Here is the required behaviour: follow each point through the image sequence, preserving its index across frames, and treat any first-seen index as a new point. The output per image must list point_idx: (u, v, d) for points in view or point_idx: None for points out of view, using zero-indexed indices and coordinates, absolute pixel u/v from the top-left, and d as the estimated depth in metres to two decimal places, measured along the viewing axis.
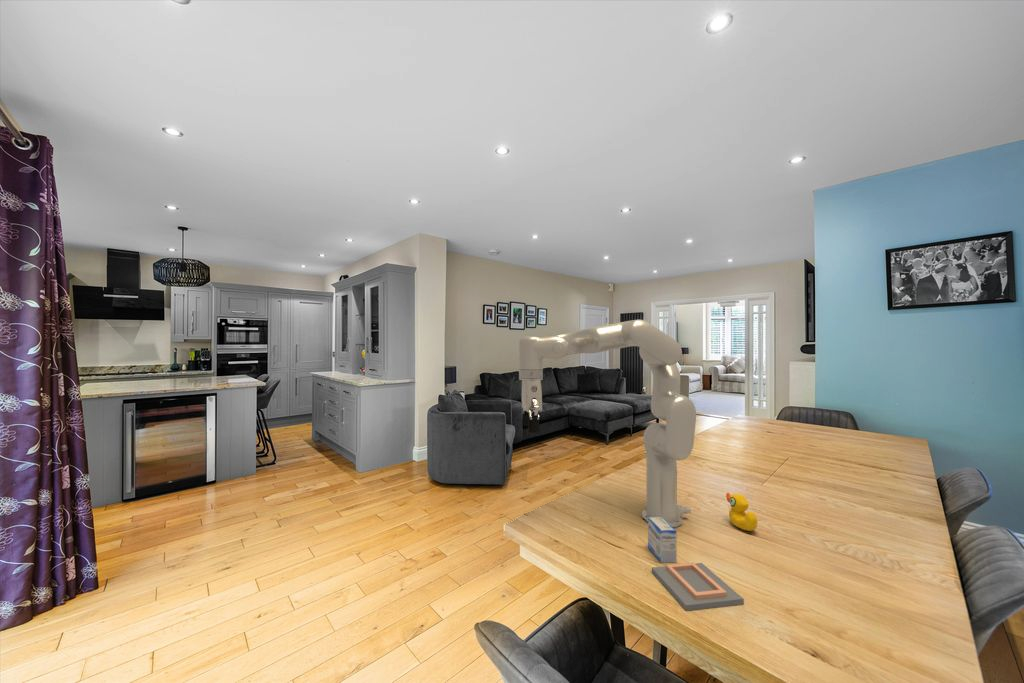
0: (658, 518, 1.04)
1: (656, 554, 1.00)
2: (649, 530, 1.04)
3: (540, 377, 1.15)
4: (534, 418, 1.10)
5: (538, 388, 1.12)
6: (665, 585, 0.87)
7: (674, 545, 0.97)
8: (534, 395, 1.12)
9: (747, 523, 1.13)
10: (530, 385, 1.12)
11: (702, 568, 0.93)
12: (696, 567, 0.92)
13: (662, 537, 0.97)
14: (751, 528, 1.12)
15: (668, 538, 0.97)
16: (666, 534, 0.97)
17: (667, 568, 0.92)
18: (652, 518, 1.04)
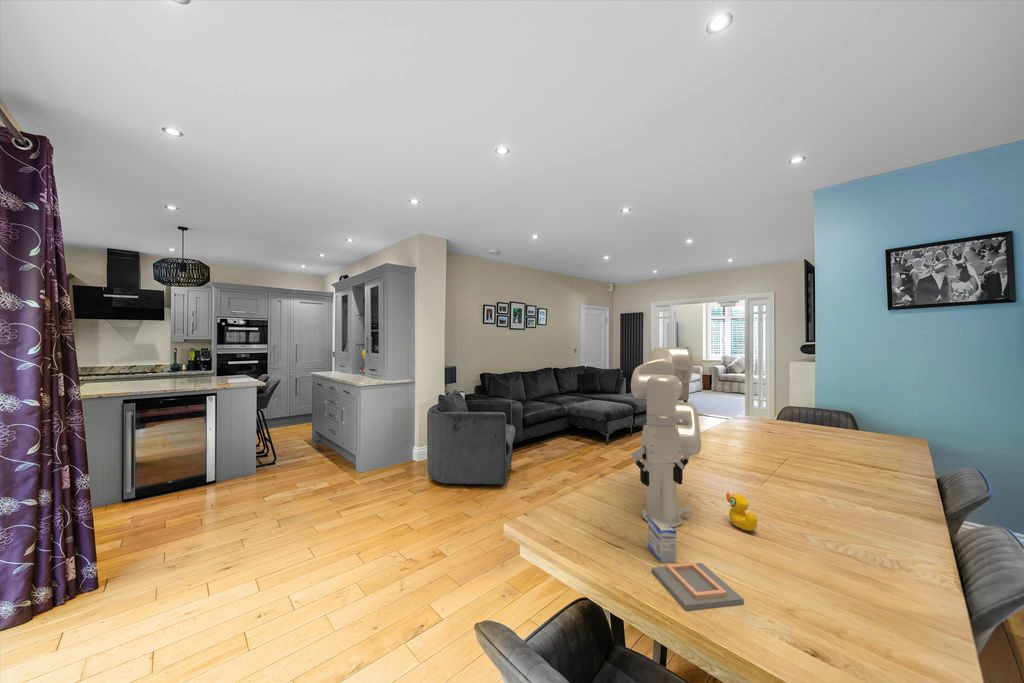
0: (658, 518, 1.04)
1: (656, 554, 1.00)
2: (649, 530, 1.04)
3: None
4: None
5: None
6: (665, 585, 0.87)
7: (674, 545, 0.97)
8: None
9: (747, 523, 1.13)
10: None
11: (702, 568, 0.93)
12: (696, 567, 0.92)
13: (662, 537, 0.97)
14: (751, 528, 1.12)
15: (668, 538, 0.97)
16: (666, 534, 0.97)
17: (667, 568, 0.92)
18: (652, 518, 1.04)
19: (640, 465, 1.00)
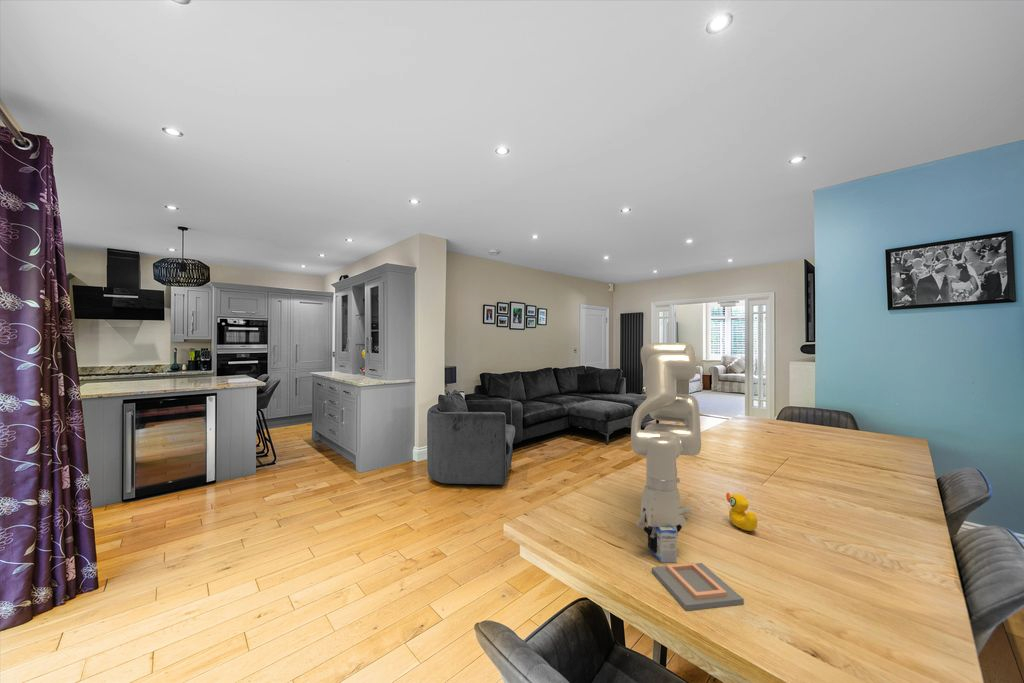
0: None
1: (656, 554, 1.00)
2: None
3: None
4: None
5: None
6: (665, 585, 0.87)
7: (674, 545, 0.97)
8: None
9: (747, 523, 1.13)
10: None
11: (702, 568, 0.93)
12: (696, 567, 0.92)
13: (662, 537, 0.97)
14: (751, 528, 1.12)
15: (667, 538, 0.97)
16: (666, 534, 0.97)
17: (667, 568, 0.92)
18: None
19: (648, 532, 1.00)
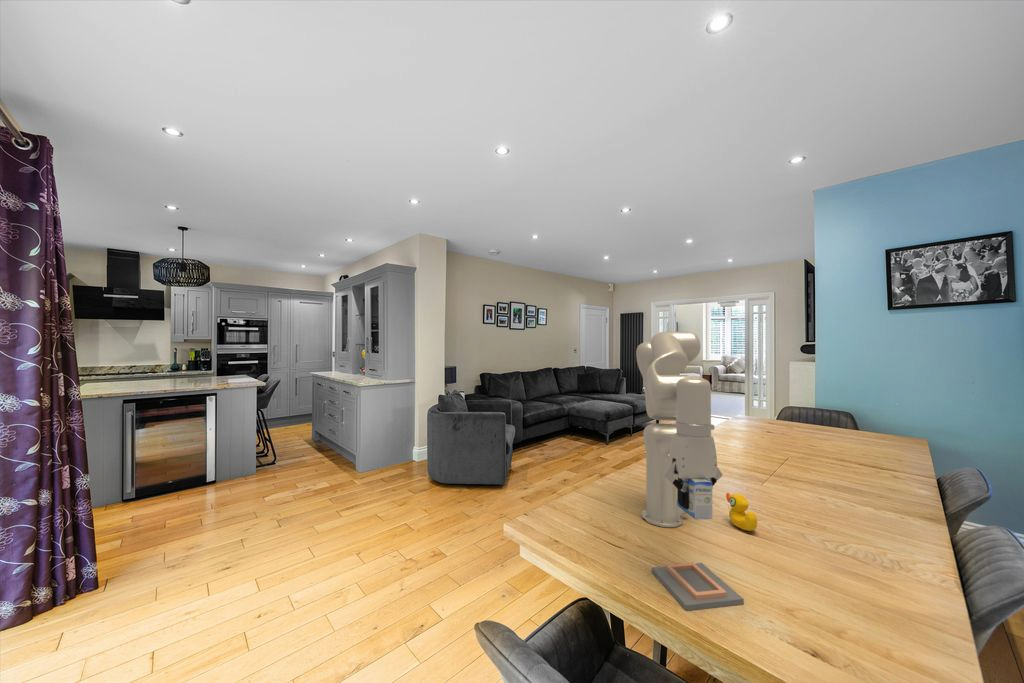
0: None
1: (688, 510, 0.86)
2: None
3: None
4: None
5: None
6: (665, 585, 0.87)
7: (710, 499, 0.84)
8: None
9: (747, 523, 1.13)
10: None
11: (702, 568, 0.93)
12: (696, 567, 0.92)
13: (696, 489, 0.84)
14: (751, 528, 1.12)
15: (702, 490, 0.84)
16: (701, 486, 0.84)
17: (667, 568, 0.92)
18: None
19: (678, 485, 0.87)
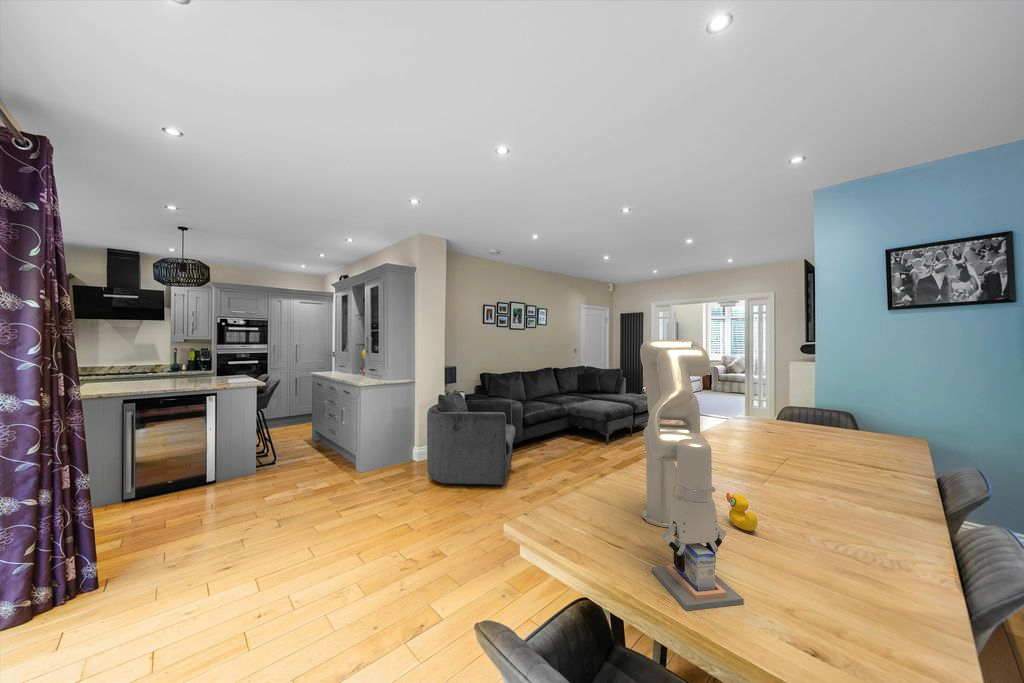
0: None
1: (690, 581, 0.86)
2: None
3: None
4: None
5: None
6: (665, 585, 0.87)
7: (712, 570, 0.84)
8: None
9: (747, 523, 1.13)
10: None
11: None
12: None
13: (699, 562, 0.84)
14: (751, 528, 1.12)
15: (705, 563, 0.84)
16: (704, 558, 0.84)
17: (667, 568, 0.92)
18: None
19: (674, 548, 0.86)
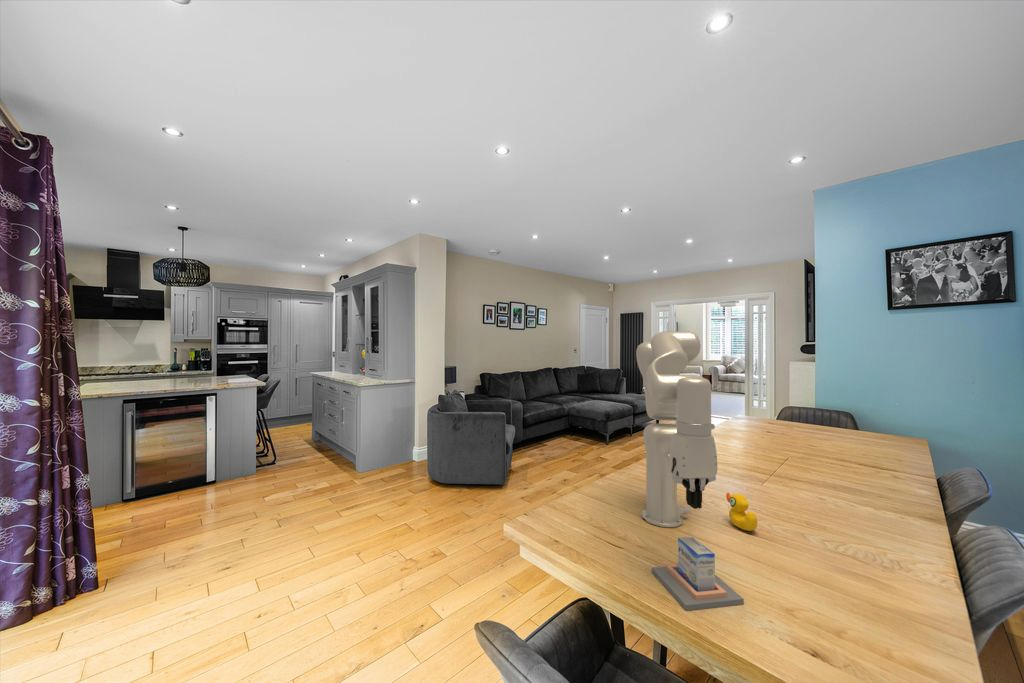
0: (689, 538, 0.91)
1: (690, 581, 0.86)
2: (679, 553, 0.90)
3: None
4: None
5: None
6: (665, 585, 0.87)
7: (712, 570, 0.84)
8: None
9: (747, 523, 1.13)
10: None
11: None
12: None
13: (699, 562, 0.84)
14: (751, 528, 1.12)
15: (705, 563, 0.84)
16: (704, 558, 0.84)
17: (667, 568, 0.92)
18: (682, 538, 0.91)
19: (687, 485, 0.87)
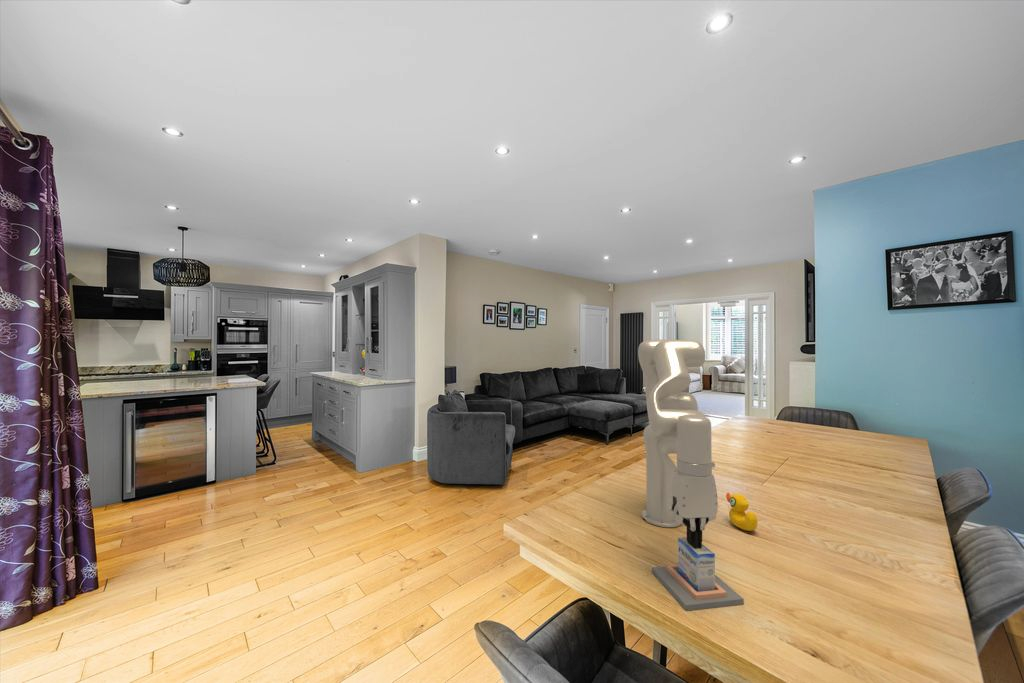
0: None
1: (690, 581, 0.86)
2: (679, 553, 0.90)
3: None
4: None
5: None
6: (665, 585, 0.87)
7: (712, 570, 0.84)
8: None
9: (747, 523, 1.13)
10: None
11: None
12: None
13: (699, 562, 0.84)
14: (751, 528, 1.12)
15: (705, 563, 0.84)
16: (704, 558, 0.84)
17: (667, 568, 0.92)
18: (682, 538, 0.91)
19: (687, 524, 0.86)
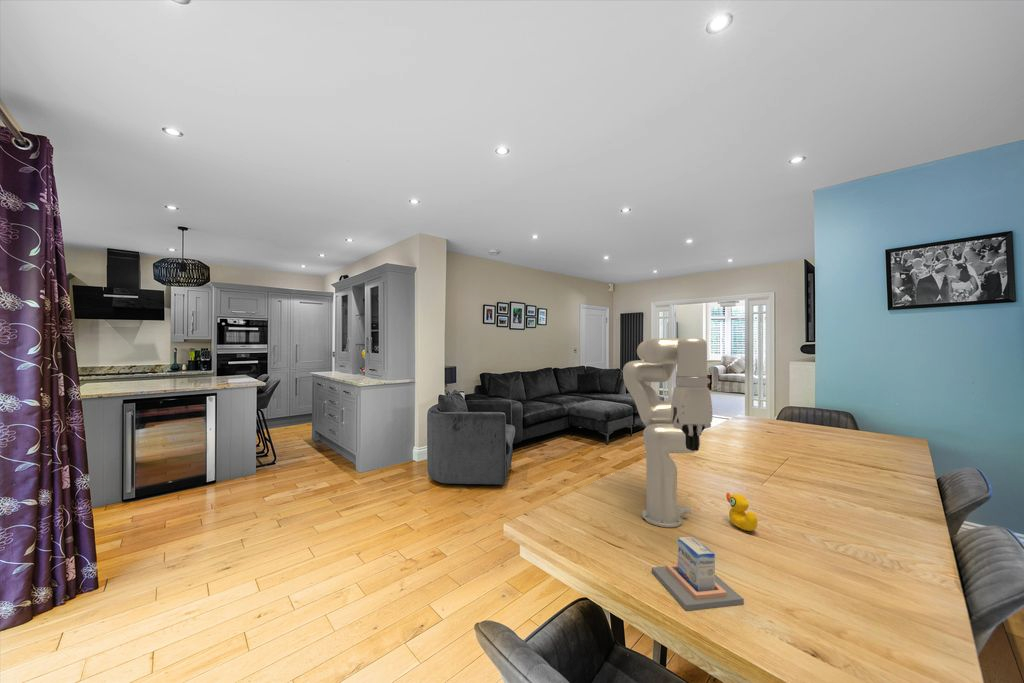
0: (689, 538, 0.91)
1: (690, 581, 0.86)
2: (679, 553, 0.90)
3: None
4: None
5: None
6: (665, 585, 0.87)
7: (712, 570, 0.84)
8: None
9: (747, 523, 1.13)
10: None
11: None
12: None
13: (699, 562, 0.84)
14: (751, 528, 1.12)
15: (705, 563, 0.84)
16: (704, 558, 0.84)
17: (667, 568, 0.92)
18: (682, 538, 0.91)
19: (686, 430, 1.00)
